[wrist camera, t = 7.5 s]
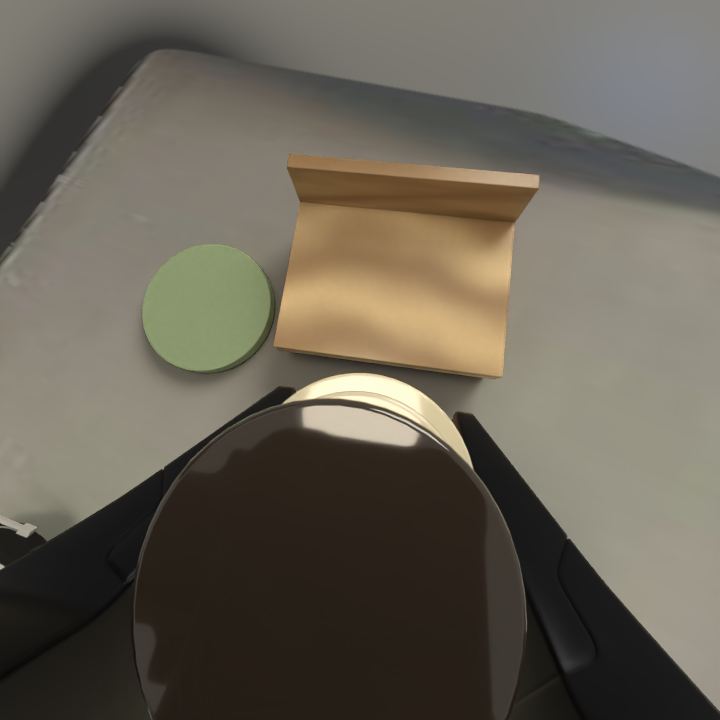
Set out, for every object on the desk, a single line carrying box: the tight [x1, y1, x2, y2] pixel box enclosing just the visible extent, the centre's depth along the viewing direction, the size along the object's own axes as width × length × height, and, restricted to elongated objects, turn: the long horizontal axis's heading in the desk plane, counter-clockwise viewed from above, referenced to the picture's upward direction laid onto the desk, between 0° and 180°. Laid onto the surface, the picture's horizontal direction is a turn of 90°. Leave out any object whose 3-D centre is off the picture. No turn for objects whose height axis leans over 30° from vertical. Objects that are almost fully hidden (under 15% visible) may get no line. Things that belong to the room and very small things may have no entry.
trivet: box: [142, 244, 275, 373], centre depth 23 cm, size 9×9×1 cm
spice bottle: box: [131, 373, 527, 720], centre depth 8 cm, size 4×4×11 cm
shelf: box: [273, 154, 540, 379], centre depth 20 cm, size 10×13×6 cm
